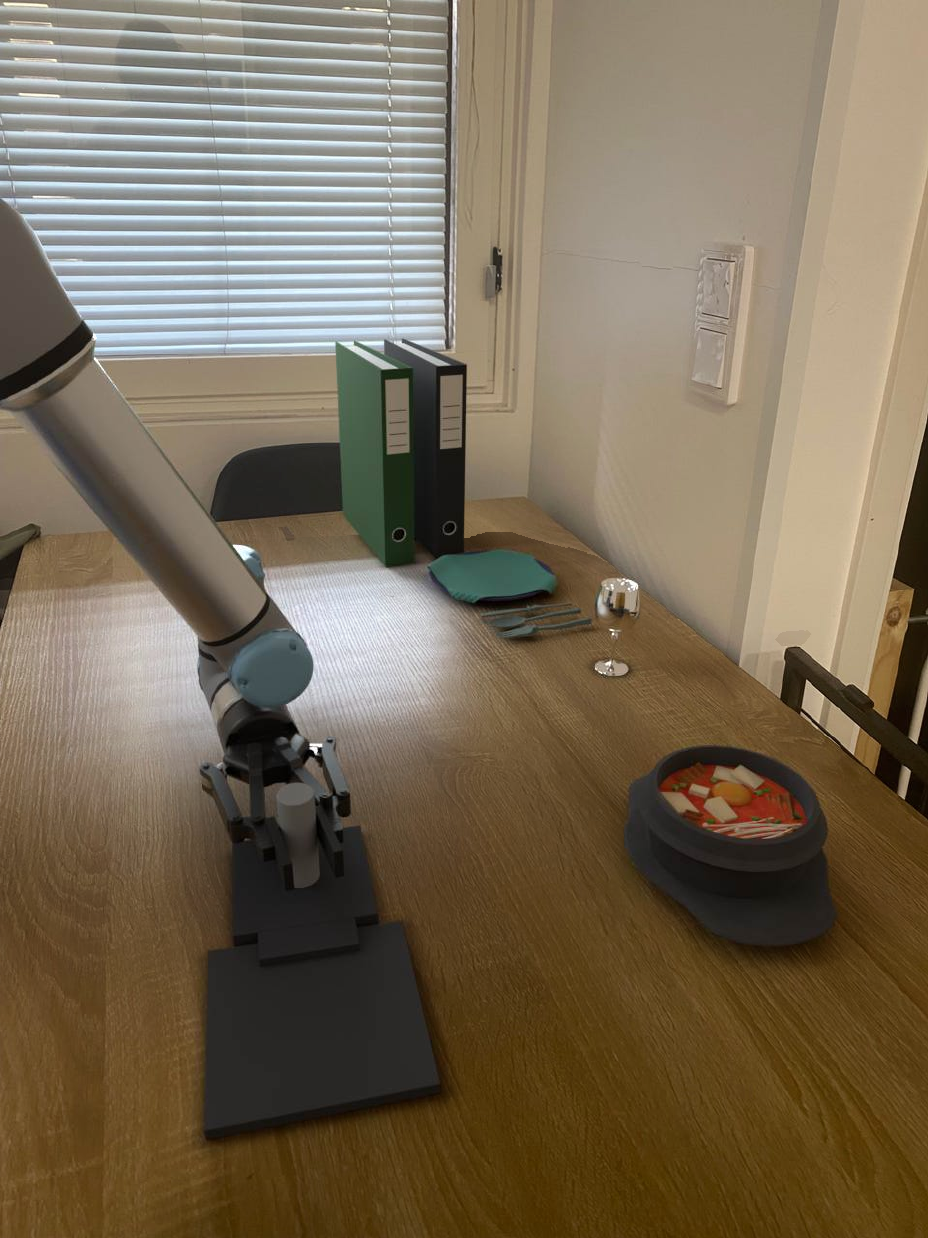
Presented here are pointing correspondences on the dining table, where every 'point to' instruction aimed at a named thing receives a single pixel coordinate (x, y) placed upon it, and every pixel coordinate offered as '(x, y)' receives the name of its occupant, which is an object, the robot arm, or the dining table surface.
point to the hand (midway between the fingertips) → (314, 870)
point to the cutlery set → (501, 586)
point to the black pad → (313, 1034)
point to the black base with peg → (301, 889)
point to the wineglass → (616, 617)
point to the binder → (402, 448)
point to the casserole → (734, 844)
